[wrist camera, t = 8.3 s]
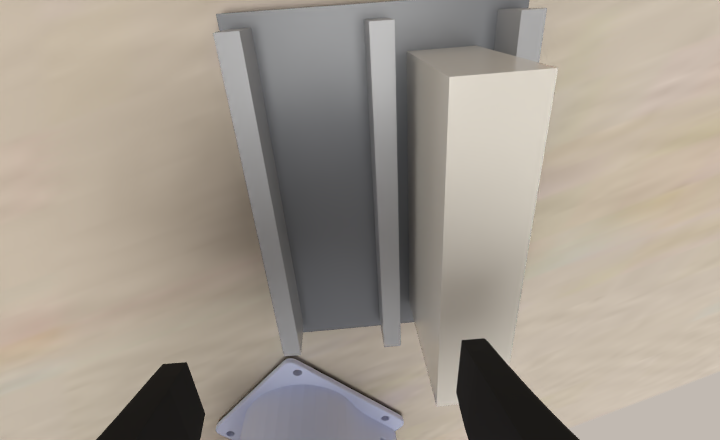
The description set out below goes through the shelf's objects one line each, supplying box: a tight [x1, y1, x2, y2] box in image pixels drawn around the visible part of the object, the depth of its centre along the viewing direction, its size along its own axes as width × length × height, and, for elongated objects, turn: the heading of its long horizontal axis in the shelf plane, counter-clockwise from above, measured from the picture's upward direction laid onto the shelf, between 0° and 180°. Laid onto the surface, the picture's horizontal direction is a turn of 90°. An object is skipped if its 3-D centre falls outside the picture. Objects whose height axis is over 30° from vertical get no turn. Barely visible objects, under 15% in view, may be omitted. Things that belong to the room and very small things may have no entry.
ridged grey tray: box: [213, 0, 547, 356], centre depth 17 cm, size 15×11×3 cm
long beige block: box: [407, 46, 558, 406], centre depth 15 cm, size 12×3×6 cm, turn 4°
